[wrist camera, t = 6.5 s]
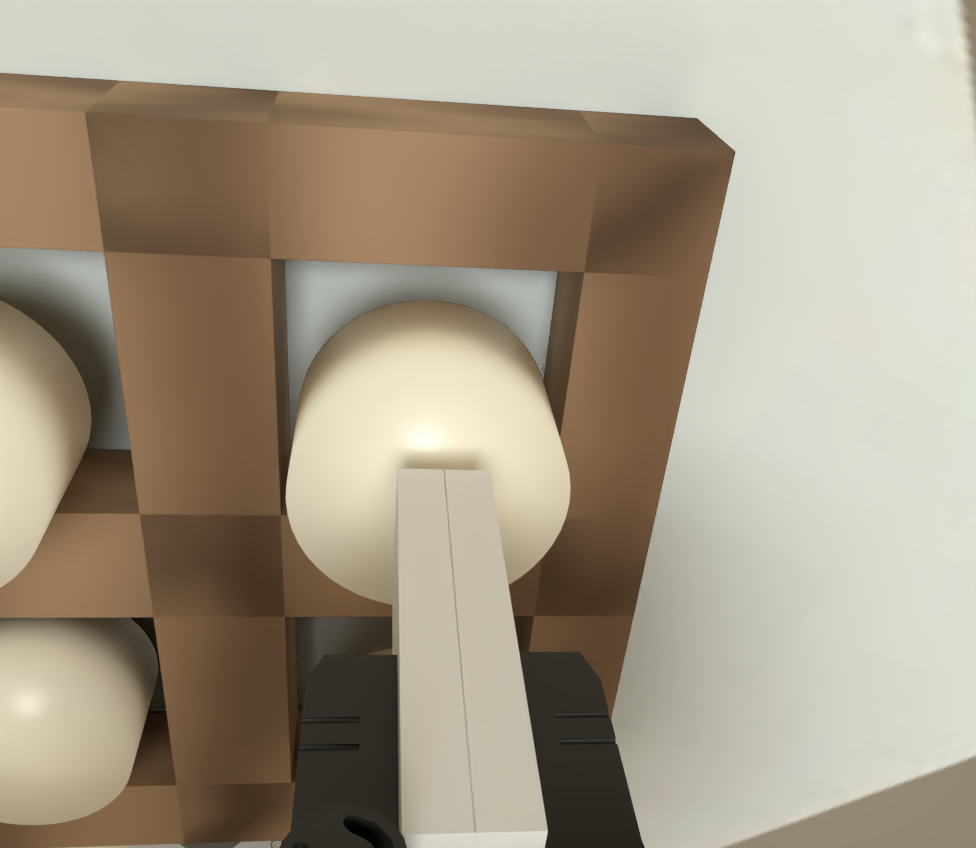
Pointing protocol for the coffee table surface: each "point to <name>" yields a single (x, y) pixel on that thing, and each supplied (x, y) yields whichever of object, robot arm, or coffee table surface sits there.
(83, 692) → the button back left
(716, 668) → the coffee table surface
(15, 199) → the board
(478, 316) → the button front right
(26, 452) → the button front left
